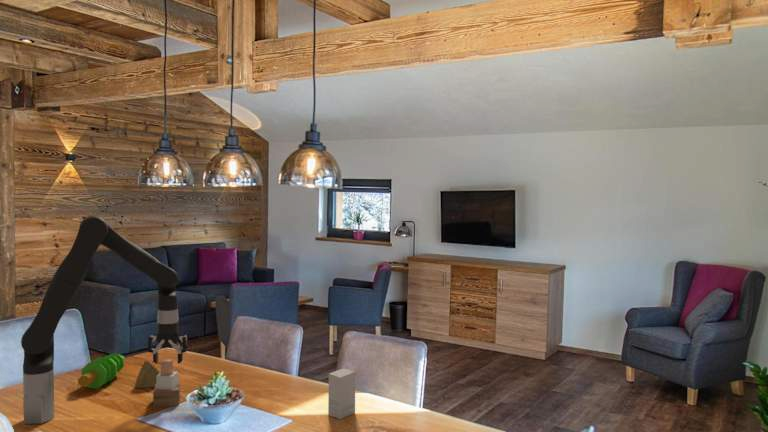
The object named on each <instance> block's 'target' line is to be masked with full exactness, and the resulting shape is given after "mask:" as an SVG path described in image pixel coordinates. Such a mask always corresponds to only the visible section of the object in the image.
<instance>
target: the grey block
mask: <svg viewBox="0 0 768 432" xmlns="http://www.w3.org/2000/svg"><path fill="white" fill-rule="evenodd" d="M178 382H179V371H174V370H173V374H172V375H168V376H162V375H161V372H160V374H159V375H157V376H156V386H157V389H165V390H173V389H174V388H175V387H176V386H177V385H178Z"/></svg>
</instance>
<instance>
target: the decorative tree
mask: <svg viewBox="0 0 768 432" xmlns="http://www.w3.org/2000/svg"><path fill="white" fill-rule="evenodd" d="M124 366H125V356H124V355H122V354H119V353H110V354H108V355H105V356H104V357H98V358H96V359H93V360H92V361H91V362H88V363H87V364H86V365H84V366H83V368H82V369H81V376H80V377H79V378H77V384H78V385H79V386H81V387H83V388H87V387H88V388H89V389H100V388H101V387H102V386H103V385H106V384H107V383H111V381H113V379H114V378H115V377H117V375H118V373H120V371H121V370H122V369H124Z"/></svg>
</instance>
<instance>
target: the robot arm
mask: <svg viewBox="0 0 768 432" xmlns="http://www.w3.org/2000/svg"><path fill="white" fill-rule="evenodd" d="M101 245H102V246H103V247H105V248H107V249H109V250H110V251H112V252H113V253H114V254H116V255H117V256H118V257H120V259H122V260H123V261H124V262H126V263H127V264H129V265H130V266H131V267H133V268H135V270H138V271H139V272H141V273H142V274H144V275H146V276H148V277H149V278H150V279H152V280H153V281H154V282H155V283H156V284H157V297H158V298H157V315H156V316H157V317H156V318H157V321H156V322H157V331H156V333H157V335H152V334H151V335H150V336H149V337H148V340H147V341H148V342H147V352H148V353H151V354H152V361H153V363H154V364H155V365H156V364H158V363H159V352H158V351H160V349H161V348H163V349H167V348H168V349H172V348H173V349H174V350H175V351H176V352H177V364H179V365H180V364H181V363H182V362H183V359H184V357H183V355H184V353H186V352H187V351H188V350H189V346H188V336H187V334H185V335H182V336H180V335H179V320H180V319H179V309H178V307H179V306H178V303H179V301H178V299H179V298H178V294H177V284H178V283H179V278H180V277H179V274H178V273H177V271H175V270H174V269H173V268H171V267H169V266H167V265H166V264H164V263H162V262H160V261H159V260H158V259H157V258H156V257H155V256H153V255H152V254H151V253H148V252H147V251H146V250H144V249H142V248H141V247H140V246H138V245H136V244H134V243H133V242H131V241H129V240H128V239H126V238H125V237H123V236H122V235H121V233H118V232H117V231H116V230H114V229H113V228H112V227H111V226H110V225H109V224H108V223H107V221H106V220H105V219H104V218H102V217H101V216H99V215H88V216H86V217H85V218H83V219H82V221H81V222H80V224H79V228H78V231H77V235H76V237H75V239H74V242H73V245H72V247H71V249H70V250H69V251H68V253H67V255H66V256H65V257H64V259H63V260H62V262H61V263H60V264H59V267H57V269H56V270H55V273H54V275H53V277H52V279H51V280H50V282H49V284H48V287H47V289H46V292H45V294H44V296H43V299H42V302H41V304H40V307H39V310H38V311H37V314H36V315H35V317H34V319H33V320H32V322H31V324H30V325H29V326H28V328H27V329H26V330H25V331H24V333H23V334H22V336H21V340H20V345H21V348H22V349H23V364H22V379H23V380H22V381H23V387H22V388H23V398H22V400H23V402H22V405H23V406H22V407H23V411H22V412H23V425H35V424H38V425H39V424H44V423H45V422H48V421H51V420H53V419H54V418H55V384H54V383H55V382H54V381H55V379H54V376H55V375H54V373H55V371H54V363H55V362H54V361H55V336H54V334H55V333H56V329H57V327H58V325H59V323H60V321H61V319H62V317H63V316H64V314H65V313H66V311H67V310H68V308H69V307H70V306H71V304H72V302H73V300H74V299H75V297H76V295H77V294H78V292H79V290H80V288H81V286H82V284H83V282H84V279H85V277H86V274H87V272H88V269H89V267H90V264H91V261H92V259H93V257H94V255H95V253H96V252H97V250H98V248H99V247H100V246H101ZM155 341H156V342H157V343H158V344H157V345H156V347H155V348H154V342H155ZM179 341H180V342H181V343H182V347H181V345H180V343H179Z"/></svg>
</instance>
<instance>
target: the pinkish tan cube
mask: <svg viewBox="0 0 768 432" xmlns="http://www.w3.org/2000/svg"><path fill="white" fill-rule="evenodd" d="M159 363H160V366H159V367H160V373H161V375H162V376H168V375H172V374H173V371H174V359H172V358H165V359H162V360H160V362H159Z"/></svg>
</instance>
